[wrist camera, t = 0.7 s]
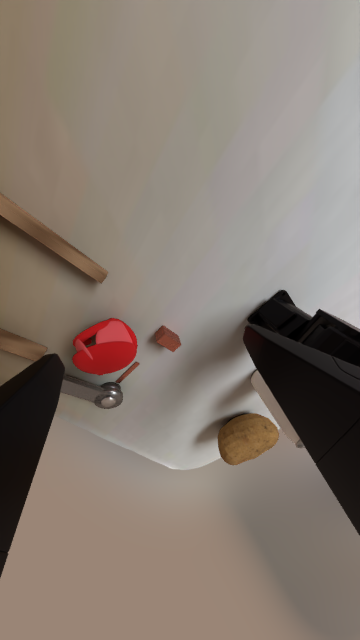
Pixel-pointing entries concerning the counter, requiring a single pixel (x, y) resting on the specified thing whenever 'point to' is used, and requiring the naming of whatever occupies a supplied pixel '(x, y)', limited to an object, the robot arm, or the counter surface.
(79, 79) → the counter surface
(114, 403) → the crank
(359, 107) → the counter surface
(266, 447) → the potato
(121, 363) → the cap
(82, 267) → the bay
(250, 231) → the counter surface
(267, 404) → the can
